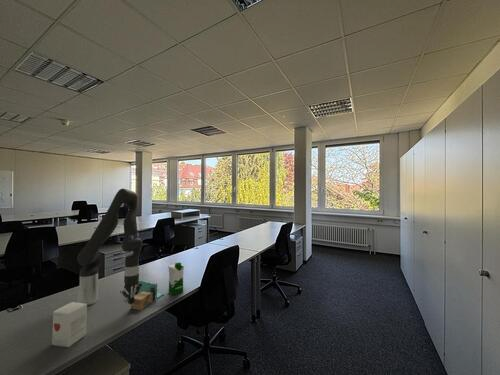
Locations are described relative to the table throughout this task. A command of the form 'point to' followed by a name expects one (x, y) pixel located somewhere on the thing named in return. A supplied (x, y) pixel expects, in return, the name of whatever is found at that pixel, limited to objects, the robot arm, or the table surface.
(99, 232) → the robot arm
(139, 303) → the block
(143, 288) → the bookend
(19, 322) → the table surface
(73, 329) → the supplement box
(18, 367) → the table surface
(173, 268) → the milk carton
